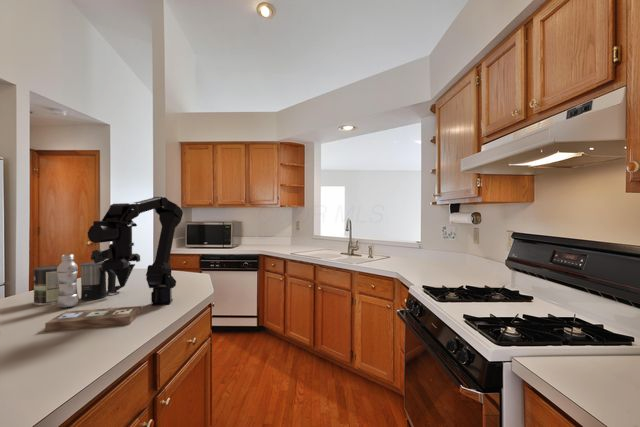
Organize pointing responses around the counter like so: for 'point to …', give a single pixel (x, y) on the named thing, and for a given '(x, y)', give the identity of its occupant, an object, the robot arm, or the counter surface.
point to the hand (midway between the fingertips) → (122, 286)
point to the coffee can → (46, 285)
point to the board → (93, 319)
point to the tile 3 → (122, 311)
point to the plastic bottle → (67, 282)
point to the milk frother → (96, 281)
